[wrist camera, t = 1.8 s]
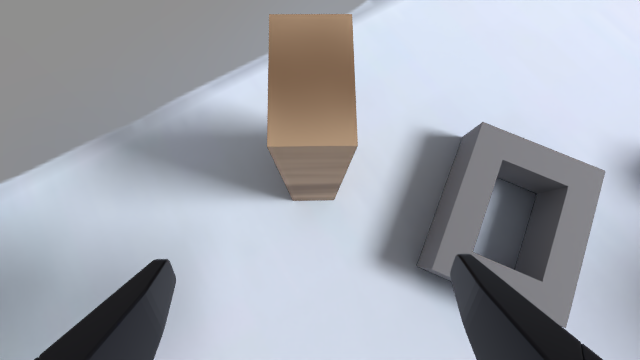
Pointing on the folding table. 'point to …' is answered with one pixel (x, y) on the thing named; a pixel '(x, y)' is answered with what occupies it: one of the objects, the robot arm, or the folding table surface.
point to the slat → (311, 102)
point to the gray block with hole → (544, 224)
